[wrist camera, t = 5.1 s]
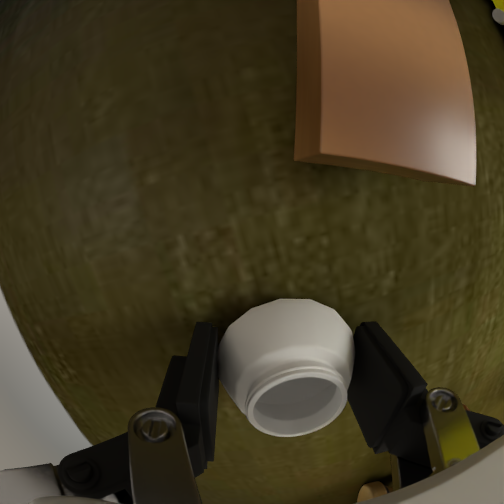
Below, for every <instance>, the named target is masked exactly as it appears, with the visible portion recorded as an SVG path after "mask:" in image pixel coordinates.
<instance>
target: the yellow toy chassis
mask: <svg viewBox="0 0 504 504" xmlns="http://www.w3.org/2000/svg"><path fill="white" fill-rule="evenodd" d="M492 1H493V3H494V5H495V7H496V9H494V10H493V12H492V16H493V18H494V20H495V21H496V22H498V23H499V24H501V25H504V0H492Z"/></svg>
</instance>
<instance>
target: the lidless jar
mask: <svg viewBox="0 0 504 504" xmlns="http://www.w3.org/2000/svg"><path fill="white" fill-rule="evenodd" d="M354 359H355V345H354V340H353V334H352V330H351V329H350V328H349V326H348V325H347V324H346V323H345V321H344V320H343V319H342V318H341V317H340V315H339V314H338V313H337V312H336V311H335V310H334V309H332V308H330V307H328V306H325V305H323V304H320V303H318V302H316V301H313V300H311V299H278V300H275V301H272V302H269V303H266V304H263V305H260V306H257V307H254V308H251V309H250V310H249V311H247V312H246V313H245V314H244V315H242V316H241V317H240V318H238V319H237V320H236V321H235V322H233V323H232V324H231V325H230V326H229V327H228V329H227V330H226V332H225V334H224V336H223V338H222V340H221V342H220V344H219V346H218V351H217V364H218V377H219V379H220V381H221V383H222V384H223V386H224V388H225V389H226V391H227V393H228V394H229V395H230V397H231V398H232V400H233V401H234V402H235V404H236V405H237V406H238V408H239V409H240V410H241V411H242V413H244V414H245V415H246V417H247V419H248V420H249V422H250V423H251V424H252V425H253V426H254V427H255V428H257V429H258V430H260V431H262V432H264V433H266V434H269V435H273V436H280V437H292V436H300V435H305V434H308V433H311V432H314V431H317V430H319V429H321V428H323V427H324V426H326V425H328V424H329V423H331V422H332V421H333V420H334V419H335V418H336V417H337V416H338V415H339V414H340V413H341V412H342V410H343V409H344V407H345V405H346V402H347V390H348V387H349V384H350V381H351V379H352V372H353V366H354Z"/></svg>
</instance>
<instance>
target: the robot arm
mask: <svg viewBox="0 0 504 504" xmlns="http://www.w3.org/2000/svg"><path fill="white" fill-rule="evenodd" d="M353 340H354V345H355V359H354V366H353V372H352V379H351V381H350V384H349V387H348V390H347V399H348V401H349V403H350V405H351V408H352V410H353V412H354V415H355V417H356V419H357V421H358V424H359V426H360V428H361V431H362V433H363V435H364V438H365V440H366V442H367V445H368V446H369V447H370V448H373V450H374V453H375V454H378V453H381V452H385V451H389V453H390V454H391V455H390V459H391V470H392V484H393V492H391V493H388V494H385V495H382V496H379V497H376V498H372V499H369V500H365V501H362V502H358V503H354V504H504V425H503V424H502V423H501V422H500V421H499V420H498V419H496V418H493V417H490V416H486V415H482V414H478V413H475V412H471V411H468V410H465V409H464V406H463V404H462V402H461V400H460V398H459V396H458V395H457V394H456V393H455V392H453V391H451V390H450V389H447V388H442V387H437V388H433V389H431V390H429V392H428V391H427V389H426V386H427V383H426V382H425V380H424V379H423V378H422V376H421V375H420V374H419V373H418V371H417V370H416V369H415V368H414V366H413V365H412V364H411V363H410V361H409V360H408V359H407V358H406V357H405V355H404V354H403V353H402V352H401V350H400V349H399V348H398V347H397V346H396V344H395V343H394V342H393V341H392V340H391V338H390V337H389V336H388V335H387V334H386V333H385V331H384V330H383V329H382V328H381V327H380V325H379V324H378V323H377V322H362V323H361V324H360V326H357V327H356V330H355V333H354V337H353ZM217 351H218V327H212V323H208V322H196V325H195V329H194V333H193V336H192V340H191V344H190V348H189V351H188V355H187V357H186V356H175V355H174V356H172V358H171V361H170V364H169V367H168V370H167V373H166V376H165V379H164V382H163V385H162V389H161V392H160V395H159V398H158V401H157V404H156V407H151V408H145V409H143V410H140V411H138V412H137V413H135V414H134V415H133V416H132V417H131V419H130V420H129V423H128V432H126V433H124V434H122V435H119V436H117V437H115V438H112V439H110V440H107V441H105V442H102V443H99V444H97V445H94V446H92V447H89V448H86V449H83V450H80V451H77V452H75V453H72V454H69V455H68V456H66V457H64V458H63V459H62V460H61V462H60V464H59V465H57V466H53V465H52V464H51V463H49V464H43V465H37V466H31V467H23V468H14V469H5V470H2V471H0V504H202V500H201V497H200V494H199V491H198V487H197V484H196V480H195V477H197V476H199V475H200V474H202V473H203V472H204V469H207V461H214V449H215V434H216V420H217V406H218V393H219V377H218V364H217Z"/></svg>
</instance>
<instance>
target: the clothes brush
mask: <svg viewBox="0 0 504 504" xmlns="http://www.w3.org/2000/svg"><path fill="white" fill-rule="evenodd" d="M294 161H298V162H308V163H317V164H325V165H334V166H341V167H348V168H355V169H362V170H368V171H374V172H380V173H385V174H391V175H396V176H401V177H406V178H411V179H416V180H420V181H426V182H438V183H448V184H457V185H465V186H473V187H474V186H475V185H476V127H475V113H474V103H473V95H472V88H471V81H470V75H469V70H468V65H467V60H466V55H465V51H464V47H463V43H462V39H461V35H460V32H459V29H458V25H457V22H456V19H455V16H454V13H453V10H452V7H451V4H450V2H449V0H297V91H296V123H295V146H294Z"/></svg>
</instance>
